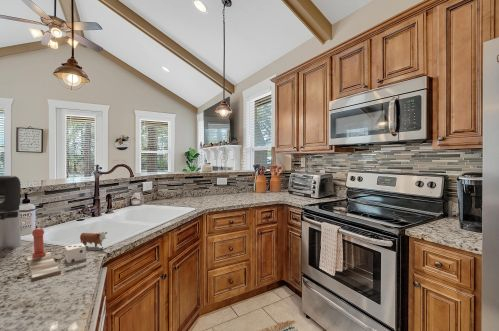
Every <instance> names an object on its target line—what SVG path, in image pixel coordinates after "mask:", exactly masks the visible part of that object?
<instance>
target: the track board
mask: <svg viewBox="0 0 499 331" xmlns="http://www.w3.org/2000/svg"><path fill="white" fill-rule="evenodd" d="M26 258H27V259H26V260H27V264H28V266H29V269H30V273H31V275H30V276H29V278H30V280H31V282H33V281H38V280H40V279H45V278H48V277H51V276H56V275H59V274H61V273H62V271H61V268H59V267H58V264H57V263H56V261H55V259H54V257H53V255H52V253H51V251H47V252H46V255H45V256H43V257H39V258H33V257H32V255H29V256H26Z"/></svg>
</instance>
